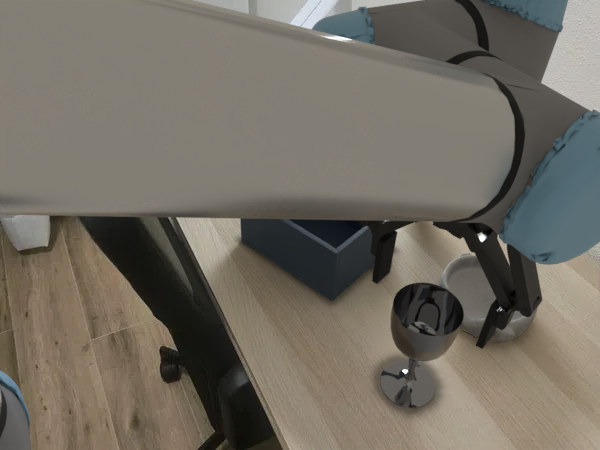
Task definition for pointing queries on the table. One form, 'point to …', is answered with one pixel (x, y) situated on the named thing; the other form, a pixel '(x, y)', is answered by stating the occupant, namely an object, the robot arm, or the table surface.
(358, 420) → the table surface
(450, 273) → the dish
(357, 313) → the table surface
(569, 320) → the table surface
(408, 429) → the table surface
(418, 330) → the wine glass
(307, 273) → the chest
